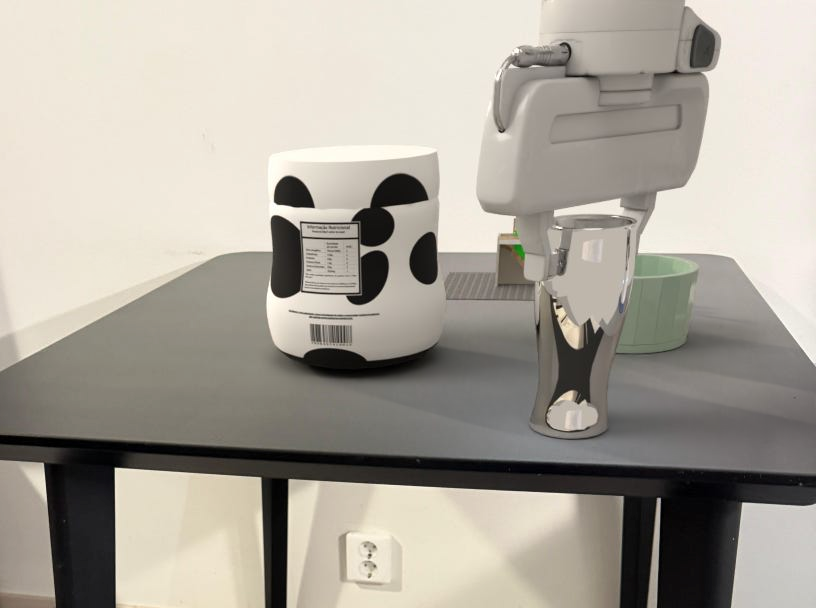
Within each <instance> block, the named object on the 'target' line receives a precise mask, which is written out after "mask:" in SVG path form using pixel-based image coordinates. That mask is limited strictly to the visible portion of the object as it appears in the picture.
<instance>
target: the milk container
mask: <svg viewBox="0 0 816 608" xmlns="http://www.w3.org/2000/svg"><path fill="white" fill-rule="evenodd" d="M439 162H440V161H439V153H438V150H437V148H434V147H429V146H421V145H411V144H409V145H408V144H352V145H334V146H333V145H332V146H319V147H307V148H299V149H292V150H284V151H280V152H277V153H271V155H270V156H269V158H268V165H267V171H268V172H267V193H268V199H269V206H268V213H269V224H270V234H271V235H270V236H271V246H272V263H271V271H270V276H269V283H268V288H267V294H266V316H267V321H268V328H269V331H270V336H271V339H272V342H273V343H274V345H275V347H276V348H277V350H278V351H279V352H280V353H282V354H283V355H284V356H286V357H287V358H288V359H290V360H293V361H296V362H298V363H301V364H304V365H308V366H314V367H320V368H321V367H322V368H327V369H336V370H339V369H340V370H341V369H344V370H345V369H347V370H361V369H362V370H363V369H377V368H383V367H388V366H394V365H399V364H404V363H407V362H410V361H412V360H415V359H418V358H421V357H423V356H424V355H426V354H427V353H429V351H431V350H432V349H434V347H435V346H437V344H438V343H439V341H440V339H441V336H442V335H443V330H444V326H445V320H446V313H447V299H446V293H445V287H444V283H445V281H444V278H443V274H442V269H441V265H440V259H439V248H438V244H439V241H438V239H439V237H438V236H439V220H440V200H439V194H440V187H441V185H440V181H441V179H440V178H441V177H440V176H441V175H440V163H439Z"/></svg>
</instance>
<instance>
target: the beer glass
mask: <svg viewBox="0 0 816 608" xmlns="http://www.w3.org/2000/svg"><path fill="white" fill-rule="evenodd" d="M621 215H622V214H621ZM621 215H619V214H609V213H576V214H575V213H573V214H572V213H571V214H562V215H561V214H560V215H554V218H553V226H552V228H547V234H548V238H549V243H550V248H551V252H557V253H559V256H558V264H557V266H556V268H557V274H556V276H555V278H552V279H549V280H545V281H542V282H535V287H534V300H533V314H534V315H533V317H534V330H535V341H536V350H537V365H538V383H537V390H536V391H537V392H536V397H535V400H534V405H533V408H532V412H531V415H530V418H529V426H530V428H531V429H532V430H533V431H535V432H536V433H538V434H541V435H544V436H547V437H551V438H556V439H566V440H567V439H568V440H570V439H571V440H573V439H574V440H576V439H578V440H580V439H589V438H593V437H597V436H599V435H601V434H603V433H605V432H606V431H607V430H608V427H609V408H608V407H609V406H608V388H609V380H610V374H611V369H612V367H613V362H614V360H615V356H616V354H617V353H616V349H617V346H618V343H619V340H620V336H621V333H622V330H623V326H624V323H625V319H626V315H627V311H628V307H629V303H630V298H631V291H632V285H633V277H634V267H635V252H636V231H637V223H638V221H637V220H636V219H634V218H631V217H627V216H621Z"/></svg>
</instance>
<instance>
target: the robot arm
mask: <svg viewBox="0 0 816 608" xmlns="http://www.w3.org/2000/svg"><path fill="white" fill-rule="evenodd" d="M540 5H541V6H540V17H539V31H538V42H537V46H533V45H529V44H524V45H519V46H516V47H514V48H513V49H512V51H511V53H510V55H509V56H507V57H506V58H505V60H504V61H503V62H502V64H501V65H500V67H499V68H498V69H497V71H496V72H495V75H494V79H493V87H492V88H493V89H492V95H491V97H490V99H489V102H488V107H487V110H486V115H485V119H484V124H483V131H482V137H481V143H480V150H479V156H478V157H479V158H478V166H477V175H476V185H475V191H476V192H475V194H476V198H477V200H478V203H479V205H480V207H481V209H482V210H483V212H485V213H487V214H492V215H499V216H508V217H509V216H510V217H515V218H516V221H515V229H516V231H517V234H518V237H519V240H520V242H521V245H522V248H523V251H524V252H525V262H524V277H525V278H526V279H527V280H530V281H535V282H542V281H545V280H549V279H552V278H555V276H556V274H557V268H556V266H557V264H558V256H559V253H557V252H551V248H550V243H549V238H548V234H547V228H552V226H553V218H554V216H555V211H558V210H563V209H568V208H575V207H580V206H586V205H591V204H597V203H602V202H608V201H613V200H619V207H620V208H623V210H622V213H621V216H627V217H631V218H634V219H636V220H637V221H638V223H637V231H636V252H635V258H636V257H637V255H638V253H639V247H640V240H641V235H642V234H643V232H644V230H645V228H646V226H647V224H648V222H649V221H650V218H651V216H652V214H653V212H654V211H655V208H656V202H657V195H658V192H665V191H670V190H675V189H681V188H684V187H686V186H687V184H688V182H689V180H690V179H691V177H692V175H693V174H694V171H695V169H696V167H697V165H698V160H699V156H700V151H701V146H702V141H703V136H704V131H705V126H706V120H707V115H708V108H709V101H710V100H709V99H710V83H709V79H708V77H707V76H706V74H705V73H707V72H711V71H713V70H715V68H716V67H717V65H718V62H719V58H720V54H721V49H722V37H721V34H720V33H719V32H718V31H717V30H716V29H714V28H713V27H712V26H710V25H709V24H707V23H706V22H705V21H704V20H703V19H701V18H700V16H698V15H697V14H696V12H695V11H694V10H693V8H692V7H690V6H688V5H686V0H541V3H540ZM511 65H512V66H514V67H510V66H511Z"/></svg>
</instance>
